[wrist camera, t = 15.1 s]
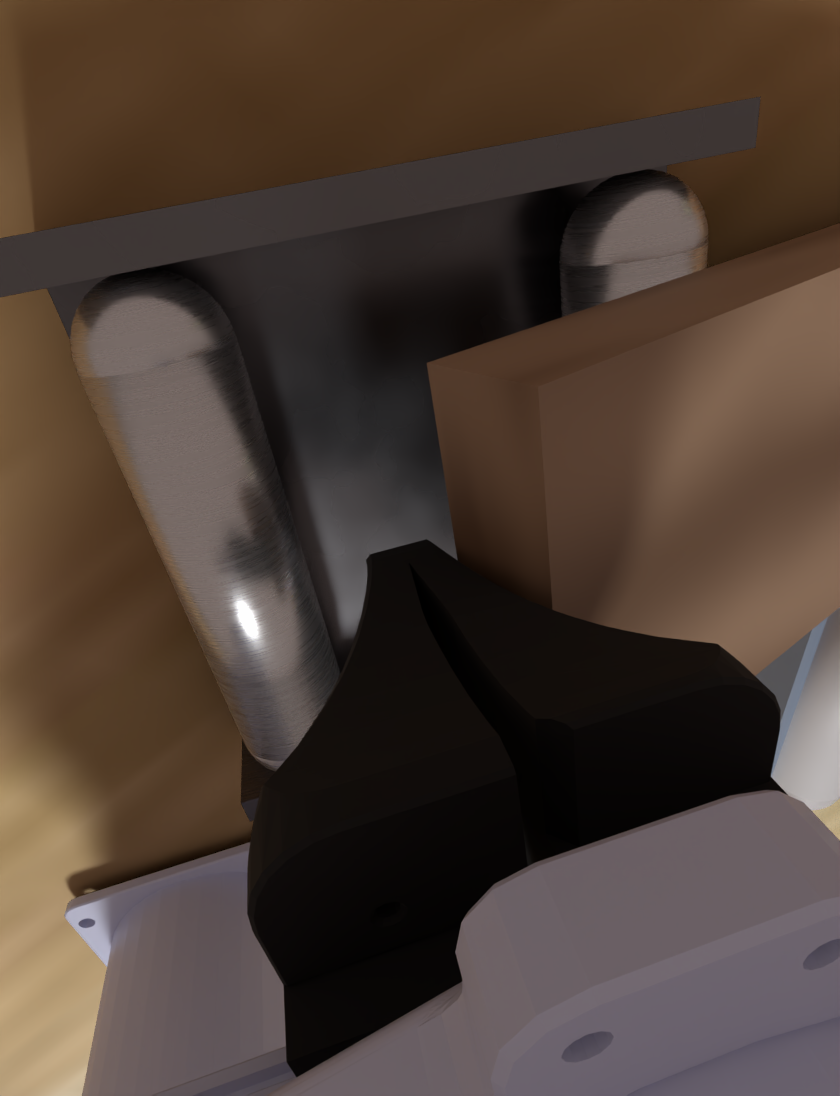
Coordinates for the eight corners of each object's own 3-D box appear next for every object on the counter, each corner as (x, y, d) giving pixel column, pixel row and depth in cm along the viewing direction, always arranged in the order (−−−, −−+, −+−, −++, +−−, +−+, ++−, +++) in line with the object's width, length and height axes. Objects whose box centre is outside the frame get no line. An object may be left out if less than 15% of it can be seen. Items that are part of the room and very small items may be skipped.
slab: (885, 477, 21) (973, 498, 19) (487, 753, 14) (566, 829, 12) (958, 182, 17) (1083, 171, 15) (426, 363, 9) (538, 387, 8)
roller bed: (640, 615, 22) (713, 689, 18) (250, 730, 20) (249, 836, 16) (654, 122, 14) (780, 92, 11) (34, 238, 12) (-49, 245, 9)
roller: (790, 743, 28) (862, 813, 25) (714, 762, 28) (778, 836, 24) (882, 486, 22) (995, 534, 19) (788, 501, 21) (887, 554, 18)
